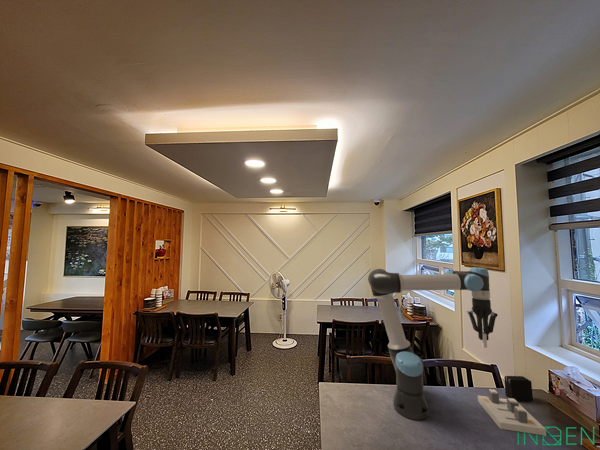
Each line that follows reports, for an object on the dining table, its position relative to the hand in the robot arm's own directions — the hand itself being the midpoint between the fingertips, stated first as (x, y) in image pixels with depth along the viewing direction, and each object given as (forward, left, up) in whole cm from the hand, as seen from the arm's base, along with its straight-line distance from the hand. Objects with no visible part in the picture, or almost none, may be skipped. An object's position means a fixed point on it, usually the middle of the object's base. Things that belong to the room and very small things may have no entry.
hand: (484, 346), depth 120 cm
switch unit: (+4, -9, -26) cm, 28 cm away
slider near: (+5, -15, -24) cm, 29 cm away
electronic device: (+17, +7, -27) cm, 32 cm away
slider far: (+1, -3, -24) cm, 24 cm away
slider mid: (+6, -9, -24) cm, 26 cm away
